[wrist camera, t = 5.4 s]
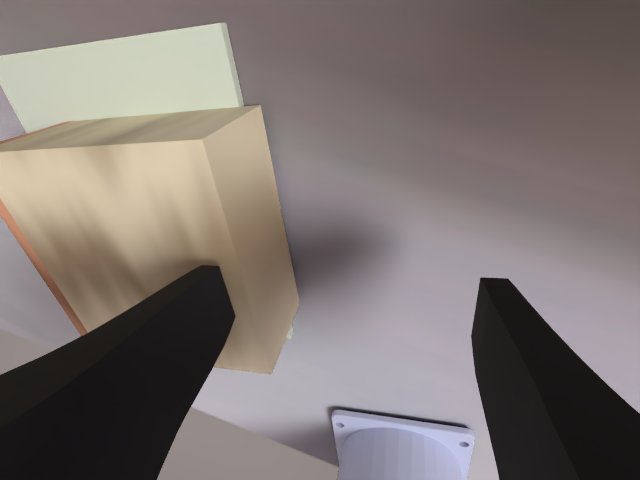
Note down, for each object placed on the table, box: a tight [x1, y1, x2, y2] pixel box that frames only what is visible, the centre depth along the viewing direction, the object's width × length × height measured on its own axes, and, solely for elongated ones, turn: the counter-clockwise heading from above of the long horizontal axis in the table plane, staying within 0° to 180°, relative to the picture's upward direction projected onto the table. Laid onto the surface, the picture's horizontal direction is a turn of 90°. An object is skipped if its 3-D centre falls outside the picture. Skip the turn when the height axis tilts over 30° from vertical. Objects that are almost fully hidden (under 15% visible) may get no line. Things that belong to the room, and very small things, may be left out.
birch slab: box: [0, 105, 300, 374], centre depth 14 cm, size 9×4×8 cm
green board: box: [0, 23, 294, 339], centre depth 16 cm, size 14×10×1 cm
